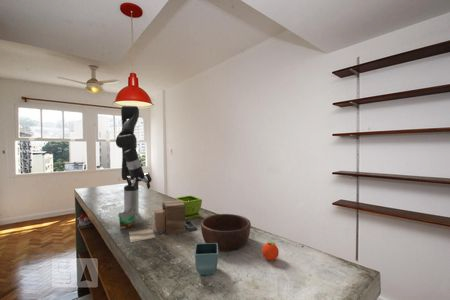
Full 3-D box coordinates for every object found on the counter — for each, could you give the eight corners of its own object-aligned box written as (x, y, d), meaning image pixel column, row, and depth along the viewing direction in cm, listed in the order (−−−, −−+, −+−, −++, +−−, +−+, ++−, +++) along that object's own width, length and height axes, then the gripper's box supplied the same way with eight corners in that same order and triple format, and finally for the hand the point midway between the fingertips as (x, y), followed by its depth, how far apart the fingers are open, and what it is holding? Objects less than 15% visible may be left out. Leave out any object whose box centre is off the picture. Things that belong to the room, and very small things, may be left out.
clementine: (267, 252, 96) (268, 237, 96) (282, 257, 92) (282, 241, 91) (259, 260, 90) (259, 243, 90) (274, 265, 85) (274, 248, 85)
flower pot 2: (195, 265, 86) (195, 243, 85) (217, 264, 86) (217, 242, 86) (194, 278, 77) (194, 254, 77) (218, 277, 78) (218, 253, 77)
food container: (128, 231, 119) (127, 213, 118) (118, 230, 120) (118, 213, 120) (140, 223, 131) (140, 207, 130) (132, 222, 132) (132, 206, 132)
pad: (128, 232, 118) (128, 231, 118) (151, 228, 123) (151, 228, 123) (130, 242, 105) (130, 242, 105) (155, 237, 111) (155, 237, 111)
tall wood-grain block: (154, 229, 120) (154, 210, 120) (180, 225, 127) (180, 206, 127) (156, 234, 114) (156, 213, 114) (183, 229, 121) (183, 210, 121)
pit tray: (182, 223, 130) (182, 221, 130) (190, 222, 133) (190, 220, 132) (188, 231, 120) (188, 228, 120) (196, 229, 122) (196, 226, 122)
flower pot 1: (184, 222, 133) (184, 202, 133) (173, 216, 144) (173, 197, 144) (202, 217, 143) (202, 198, 142) (191, 212, 153) (191, 194, 153)
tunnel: (162, 227, 125) (162, 201, 125) (179, 224, 129) (179, 199, 129) (166, 235, 114) (166, 206, 114) (184, 231, 119) (184, 204, 118)
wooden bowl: (255, 235, 114) (255, 216, 114) (243, 258, 91) (243, 235, 91) (212, 229, 123) (212, 211, 122) (191, 249, 99) (191, 227, 99)
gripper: (147, 162, 132) (154, 184, 138) (125, 165, 133) (133, 188, 138) (144, 167, 125) (151, 190, 131) (120, 171, 126) (129, 194, 131)
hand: (142, 189), depth 135 cm, fingers open, 8 cm apart
